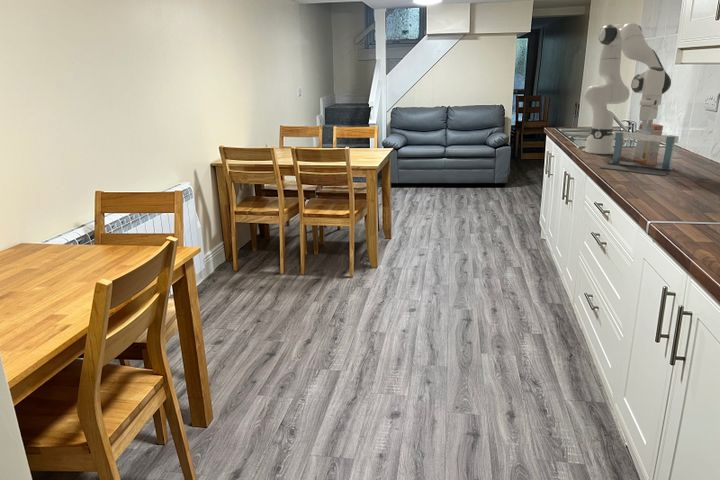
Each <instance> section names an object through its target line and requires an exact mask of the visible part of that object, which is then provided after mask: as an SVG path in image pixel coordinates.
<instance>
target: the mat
mask: <svg viewBox="0 0 720 480" xmlns="http://www.w3.org/2000/svg"><path fill="white" fill-rule="evenodd" d="M607 164H608V163H606V164H604V165H601V166H599V169H601V168H603V169H604V170H613V171H618V172H619V171H620V172H626V173H634V174H635V173H636V174H644V175H651V176H659V177H665V176H667V175H668V174H670V172H666V171H658V170H649V169H641V168H632V167H624V166H616V165H607Z"/></svg>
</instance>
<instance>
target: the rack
mask: <svg viewBox="0 0 720 480" xmlns="http://www.w3.org/2000/svg"><path fill="white" fill-rule="evenodd" d="M621 132H624V131H623V130H622V131H620V130H619V132H616V134H615V138H614V153H613V154H612V160H610V161H608V162H607V163H606V164H607V165H616V166H624V167H632V168H641V169H649V170H658V171H666V172H669V173H671V172H673V171H674V170H675V167H674V166H671V165H672V164H671V163H672V158H673V155H674V154H673V153H674V149H675V144H676V143H673V141H674V137H669V136H673V135H671V134H670V135H667V139H666V142H665V148H664V155H663V161H662V164H661V165H659V164H658V165H657V164H656V165H649V164H642V163H639V162H629V161H622V160H621V156H622V149H623V143H624V140H625V139H623V138H622V133H621Z"/></svg>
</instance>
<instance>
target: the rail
mask: <svg viewBox="0 0 720 480" xmlns="http://www.w3.org/2000/svg"><path fill="white" fill-rule="evenodd" d="M619 131H620V130H619ZM619 131H617V130H614V131H613V135H612V137H613V139H615V134H616V132H619ZM621 133H622V138H623V139H624V140H625V139H626V140H636V141H637V140H646V141H657V142H660V143H666V139H667V136H669V135H666V134H662V135H655V134H643V133H638V132H632V131H631V132H630V131H628V132H627V131H623V132H621ZM669 137H674V141H673V143H675V144H678V143H679V138H680V136H679V135H678V136H677V135H672V136H669Z"/></svg>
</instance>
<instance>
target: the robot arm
mask: <svg viewBox="0 0 720 480" xmlns="http://www.w3.org/2000/svg"><path fill="white" fill-rule="evenodd" d="M598 40H599V42H600V44H601V45H602V47H601V50H600V56H599V64H598V65H599V66H598V74H599V76H600V77H601V78H602V79H604V80H605V84H594V85H590V86H588V87H587V88H586V90H585V91H584V94H583V95H584V101H585V102H586V103H587V104H588V105H589V107H590V108H591V110H592V111H591V112H592V125H591V128H590V135H588V136H587V138H586V143H585V147H584V148H582V151H583V152H586V153H589V154H595V155H598V154H599V155H613V153H614V146H615V138H613V133H614V128H613V126H614V119H615V117H614V116H615V115H614V114H613V112H611V111H609V109H608V105H618V104H619V105H620V104H623V103H624V104H625V102H627V100H628V99H629V98H630V95H631V94H630V93H631V92H630V88H631V90H632V91H633V92H634V93H636V94H641V99H640V100H639V106H640V107H639V115H638V117H639V121H640V122H641V123H642V130H646V129H647V128H651V126H652V123H653V122H654V120H655V119H657V118H658V111H659V106H661V104H662V99H663V98H662V97H663V94H665V93H666V92H668V90H669V89H670V88H671V85H672V79H671V77H670V75H669V74H668V73H667V72H666V70H665V68H664V66H663V64H662V63H661V60H660V58H659V56H658V55H657V52H656V51H655V50H654V49H652V48H651V47H650V45H649V44H648V43H647V42H646V39H645V37H644V33H643V30H642V27H641V26H640V25H639V24H637V23H635V22H627V23H616V24H610V23H609V24H606V25H603V26H602V27H601V28H600V30H599V33H598ZM622 53H623V55H624V57H626V58H627V59H629V60H633V61H636V62H640V63H643V64H644V65H646V67H648V68H647V69H646V70H645V71H644V72H642V73H639V74H636V75H635V76H634V77H633V78H632V80H631V85H630V88H629V87H628V86H627V85H626V84H625V83H624V81H623V80H622V77H621V63H622ZM647 123H648V125H647ZM653 124H654V123H653Z"/></svg>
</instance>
